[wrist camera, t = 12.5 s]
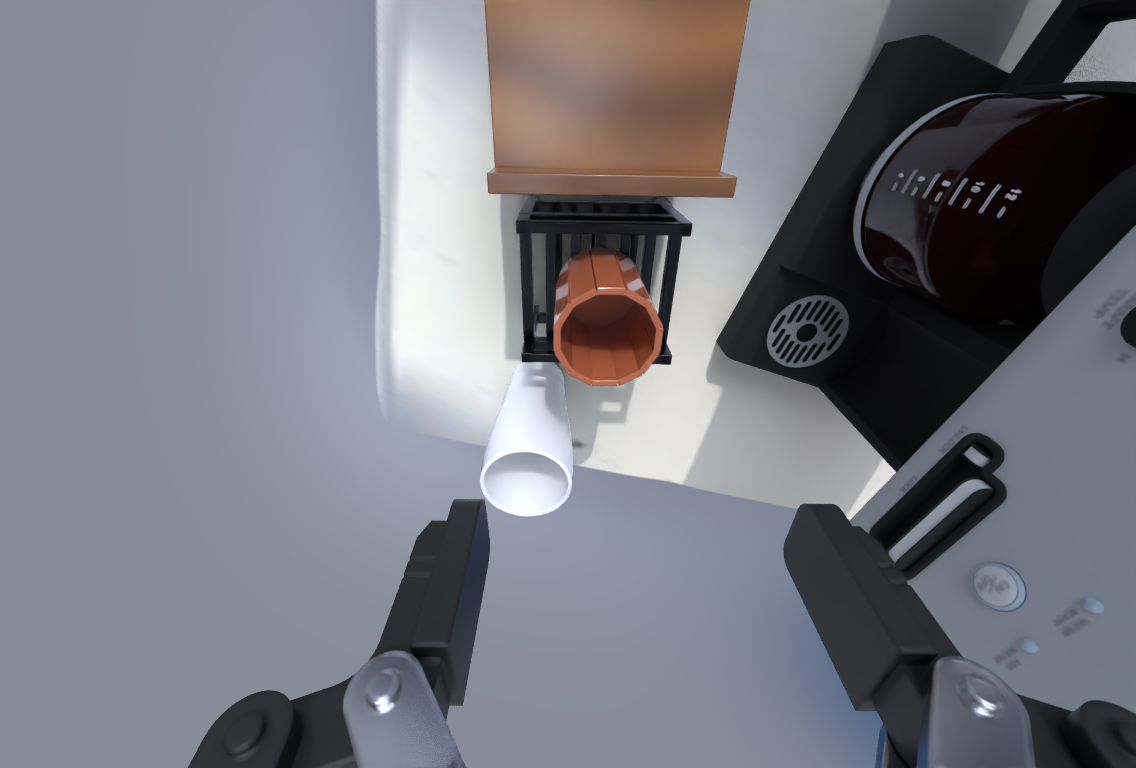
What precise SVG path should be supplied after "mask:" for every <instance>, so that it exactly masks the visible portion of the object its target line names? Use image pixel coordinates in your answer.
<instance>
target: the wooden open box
mask: <svg viewBox="0 0 1136 768" xmlns="http://www.w3.org/2000/svg"><path fill="white" fill-rule="evenodd" d="M749 5H750V0H485V16H486V32H487V48H488V63H489V79H490V95H491V111H492V127H493V142H494V158H495V168H494V169H492V170H491V171H489V172H488V173H487V182H488V193H489V194H543V195H602V196H661V197H719V198H733V197H734V191H735V186H736V181H737V177H735V176H732V175H729V174H726V173H724V172H721V171H720V169H721V163H722V158H723V152H724V146H725V141H726V135H727V129H728V124H729V118H730V112H731V107H732V101H733V95H734V90H735V84H736V79H737V73H738V67H739V62H740V56H741V50H742V45H743V39H744V33H745V28H746V22H747V16H748V11H749Z"/></svg>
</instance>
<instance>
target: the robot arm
mask: <svg viewBox="0 0 1136 768" xmlns="http://www.w3.org/2000/svg"><path fill="white" fill-rule="evenodd" d="M489 553H490V538H489V529H488V521H487V513H486V505H485V501H484V499H455V500H454V501H453V503H452V506H451V509H450V512H449V515H448V519H447V521H431V522H430V523H429V524H428V525H427V527H426V528H425V529H424V530H423V531H422V532H421V534H420V535H419V536H418V537H417V539H416V542H415V545H414V547H413V551H412V553H411V556H410V561H409V562H408V564H407V567H406V570H405V572H404V578H403V579H402V581H401V584H400V586H399V589H398V592H397V595H396V597H395V600H394V603H393V606H392V609H391V611H390V614H389V617H388V620H387V622H386V625H385V628H384V631H383V634H382V636H381V639H380V642H379V644H378V646H377V649H376V650H375V652H374V654H373V655H372V657H371V658H370V659H369V661H368V662H367V663H365V664H364V665H363V666H362V667H361V668H360V669H359V670H358V672H357V673H356V674H355V675H353V676H351V677H350V678H349V679H347V680H345V681H343V682H342V683H340V684H337V685H335V686H333V687H329V688H326V689H323V690H320V691H317V692H314V693H312V694H309V695H306V696H303V697H300V698H297V699H294V700H291V701H290V700H289V699H288V698H287V697H286V696H285V695H284V694H282V693H280V692H277V691H269V690H268V691H261V692H257V693H254V694H251V695H249V696H247V697H245V698H243V699H241V700H240V701H238V702H237V703H235V704H234V705H232V706H231V707H230V708H229V709H227V711H225V712H224V713H223V714H222V715H221V716H220V717H219V718H218V719H217V720H216V721H215V723H214V724H213V725H212V727H211V728H210V729H209V730H208V732H207V734H206V735H205V737H204V739H203V741H202V742H201V744H200V746H199V748H198V750H197V752H196V754H195V755H194V757H193V759H192V761H191V763H190V765H189V767H188V768H466V766H465V764H464V762H463V760H462V758H461V755H460V753H459V750H458V748H457V746H456V744H455V741H454V739H453V737H452V735H451V732H450V730H449V728H448V726H447V724H446V719H447V714H448V709H449V705H456V706H457V705H459V706H461V705H463V702H464V696H465V690H466V685H467V679H468V674H469V668H470V663H471V657H472V652H473V646H474V640H475V635H476V630H477V624H478V618H479V613H480V607H481V602H482V596H483V591H484V585H485V579H486V574H487V568H488V561H489ZM784 559H785V563H786V566H787V569H788V571H789V573H790V575H791V577H792V579H793V581H794V583H795V586H796V588H797V590H798V592H799V594H800V596H801V598H802V600H803V602H804V604H805V606H806V609H807V611H808V613H809V615H810V617H811V619H812V621H813V623H814V625H815V627H816V629H817V632H818V633H819V636H820V638H821V640H822V641H823V644H824V646H825V648H826V650H827V652H828V654H829V657H830V658H831V660H832V662H833V665H834V667H835V669H836V671H837V673H838V675H839V677H840V679H841V682H842V683H843V686H844V688H845V690H846V692H847V694H848V696H849V698H850V700H851V702H852V705H853V706H854V709H855V711H877V712H878V714H879V716H880V718H881V720H882V722H883V725H882V726H881V728H880V731H879V737H878V744H877V753H876V759H875V767H874V768H1136V714H1135V713H1133V712H1131V711H1129V710H1127V709H1125V708H1123V707H1121V706H1118V705H1116V704H1113V703H1110V702H1106V701H1100V700H1091V701H1087V702H1085V703H1084V704H1082V705H1081V706H1080V707H1079V708H1077V709H1076V710H1075V711H1070V710H1067V709H1063V708H1060V707H1057V706H1054V705H1051V704H1048V703H1045V702H1041V701H1038V700H1035V699H1032V698H1029V697H1026V696H1023V695H1020V694H1017V693H1015V692H1014V691H1013V690H1012V688H1011V687H1010V686H1009V685H1008V684H1007V683H1006V682H1005V681H1003V680H1002V679H1001V678H1000V677H999V676H997V675H996V674H995V673H993V672H992V671H991V670H989V669H988V668H986V667H984V666H982V665H981V664H979V663H977V662H975V661H972V660H970V659H967V658H964V657H963V656H962V655H961V654H960V652H959V651H958V650H957V649H956V647H955V646H954V644H953V643H952V642H951V640H950V639H949V638H948V636H947V635H946V633H945V632H944V631H943V629H942V628H941V626H940V625H939V624H938V622H937V621H936V620H935V618H934V617H933V615H932V614H931V613H930V611H929V610H928V609H927V607H926V606H925V604H924V603H923V602H922V600H921V599H920V597H919V596H918V595H917V593H916V592H915V591H914V589H913V588H912V586H911V585H908V583H907V580H906V578H905V577H904V575H903V574H902V573H901V571H900V570H899V568H896V567H895V563H894V562H893V560H892V559H891V557H890V556H889V555H888V553H887V552H886V551H885V549H884V548H883V546H882V545H881V544H880V543H879V542H878V541H877V540H876V539H874V538H873V537H872V536H871V535H870V534H868V533H867V532H866V531H865V530H864V529H862V528H861V527H860V526H852V525H851V523H850V522H849V520H848V519H847V517H846V516H845V514H844V513H843V512H842V510H841V509H840V508H839V507H838V506H837V505H834V504H802V505H800V507H799V508H798V510H797V513H796V515H795V518H794V520H793V523H792V525H791V528H790V530H789V533H788V535H787V538H786V540H785V543H784Z"/></svg>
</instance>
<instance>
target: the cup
mask: <svg viewBox="0 0 1136 768" xmlns="http://www.w3.org/2000/svg"><path fill="white" fill-rule="evenodd" d="M662 336H663V325H662V323H661V320H660V318H659V316H658V314H657V312H656V309H655V307H654V305H653V303H652V301H651V298H650V296H649V294H648V292H647V290H646V287H645V285H644V283H643V281H642V279H641V277H640V275H639V273H638V270H637V268H636V266H635V264H634V262H632V260H630V259H629V258H628V257H627V256H626V255H625V254H623V253H622V252H620V251H618V250H616V249H613V248H609V247H592V248H588V249H585V250H582V251H580V252H578V253H577V254H575V255H574V256H573V257H571V258H570V259H569V260H568V261H567V262H566V264H565V265H564V267H563V268H562V270H561V272H560V274H559V277H558V279H557V284H556V300H555V315H554V351H555V355H556V356H557V358H558V360H559V361H560V363H561V364H562V366H563V367H564V369H565V370H566V372H567V373H568V372H569V375H571V376H573V377H575V378H577V379H579V380H581V381H583V382H585V383H587V384H588V385H591V384H592V386H617V384H618V385H619V386H620V385H622V384H624V383H626V382H629V381H631V380H633V379H635V378H637V377H639V376H642V373H643V374H644V373H645V372H646V371H647V369H648V368H649V367H650V365H651V364H652V363H653V362H654V360H655V359H656V358H657V357H658V355H659V353H660V350H661V343H662Z"/></svg>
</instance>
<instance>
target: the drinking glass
mask: <svg viewBox="0 0 1136 768" xmlns="http://www.w3.org/2000/svg"><path fill="white" fill-rule="evenodd" d="M572 475H573V449H572V439H571V432H570V425H569V419H568V412H567V405H566V398H565V390H564V377H563V374H562V372H561V370H560V369H559V367H558V366H557V365H556V364H554V363H553V362H532V363H525V362H521V363H519V364H518V365H517V366H516V367H515V369H514V370H513V372H512V374H511V378H510V383H509V386H508V388H507V391H506V394H505V396H504V399H503V402H502V404H501V407H500V409H499V412H498V414H497V417H496V419H495V422H494V424H493V427H492V430H491V432H490V435H489V438H488V442H487V445H486V449H485V453H484V458H483V463H482V469H481V475H480V486H481V490H482V492H483V494H484V496H485V497H486V499H487V500H488V501H489V502H490V503H491V504H492V505H494V506H495V507H496V508H498V509H500V510H502V511H504V512H506V513H509V514H512V515H516V516H525V517H527V516H528V517H531V516H539V515H544V514H547V513H550V512H552V511H554V510H556V509H557V508H559V507H560V506H561V505H562V504H563V503H564V502H565V501H566V500H567V498H568V497H569V495H570V492H571V489H572Z"/></svg>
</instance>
